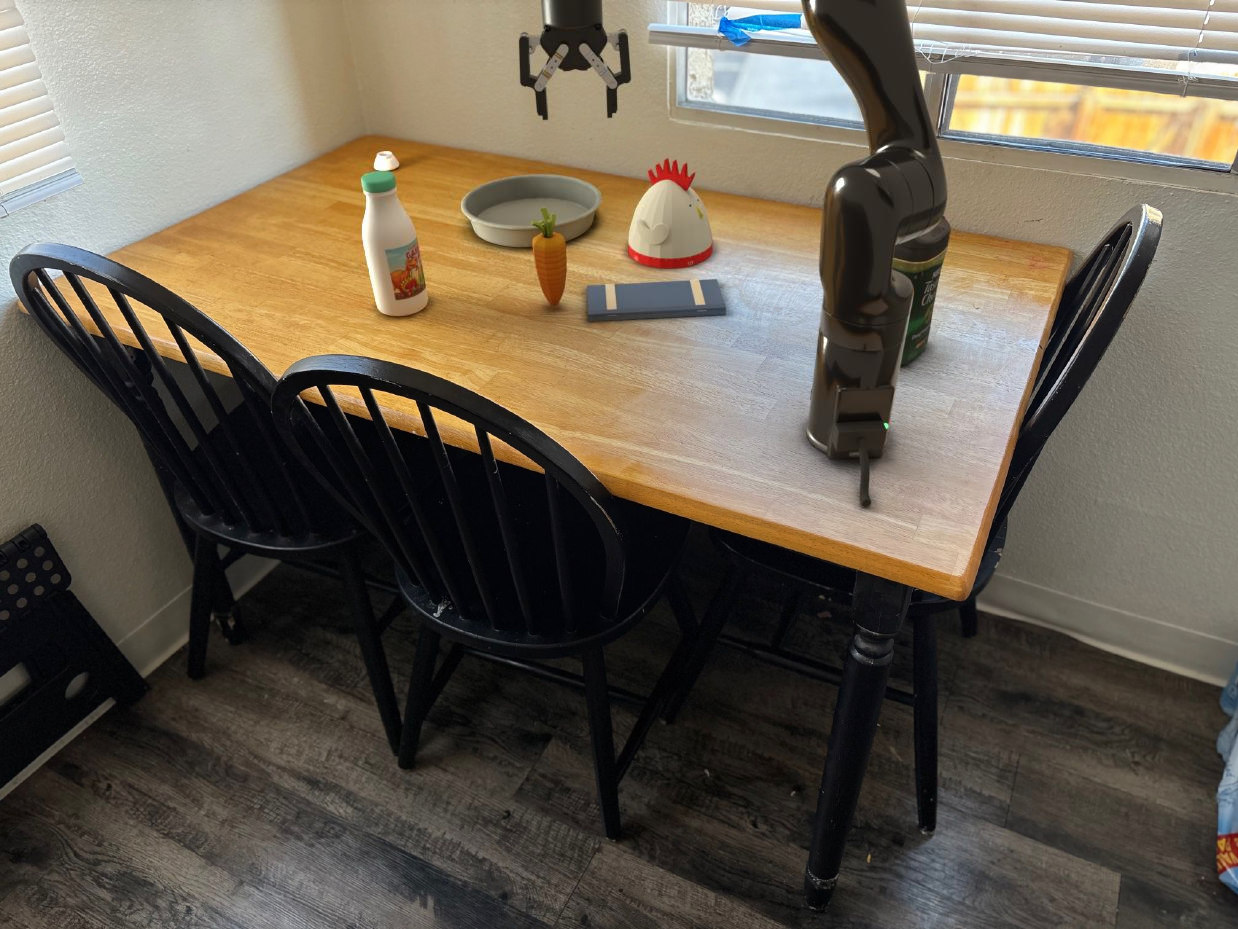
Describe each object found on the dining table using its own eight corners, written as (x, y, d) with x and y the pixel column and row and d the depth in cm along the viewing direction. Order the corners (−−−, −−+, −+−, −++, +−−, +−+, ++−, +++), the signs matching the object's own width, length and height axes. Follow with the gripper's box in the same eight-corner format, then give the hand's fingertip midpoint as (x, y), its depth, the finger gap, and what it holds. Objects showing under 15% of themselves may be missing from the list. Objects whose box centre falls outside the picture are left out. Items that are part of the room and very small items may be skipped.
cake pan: (550, 263, 146) (548, 237, 144) (435, 235, 157) (431, 210, 154) (628, 211, 163) (628, 186, 160) (519, 188, 173) (517, 164, 170)
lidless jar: (403, 164, 186) (382, 162, 187) (401, 150, 184) (379, 148, 185) (391, 173, 182) (370, 171, 183) (388, 158, 180) (367, 156, 182)
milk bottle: (379, 321, 133) (349, 188, 121) (375, 298, 139) (347, 169, 127) (431, 313, 134) (407, 181, 122) (426, 290, 140) (403, 162, 128)
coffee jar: (902, 373, 117) (928, 239, 106) (848, 354, 121) (867, 222, 110) (936, 343, 123) (963, 212, 111) (883, 326, 127) (904, 198, 115)
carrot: (566, 316, 132) (559, 218, 123) (534, 313, 133) (524, 216, 124) (574, 300, 136) (567, 204, 127) (542, 298, 137) (533, 202, 128)
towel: (725, 314, 131) (726, 307, 130) (588, 321, 131) (588, 314, 130) (716, 283, 139) (717, 276, 138) (587, 290, 139) (586, 282, 138)
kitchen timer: (686, 275, 142) (687, 181, 132) (612, 257, 148) (609, 166, 138) (726, 242, 151) (730, 152, 141) (655, 226, 157) (655, 139, 148)
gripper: (510, -11, 106) (522, 128, 117) (630, -15, 107) (632, 124, 117) (513, -23, 112) (525, 110, 122) (627, -27, 112) (630, 106, 123)
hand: (577, 117), depth 120 cm, fingers open, 8 cm apart
